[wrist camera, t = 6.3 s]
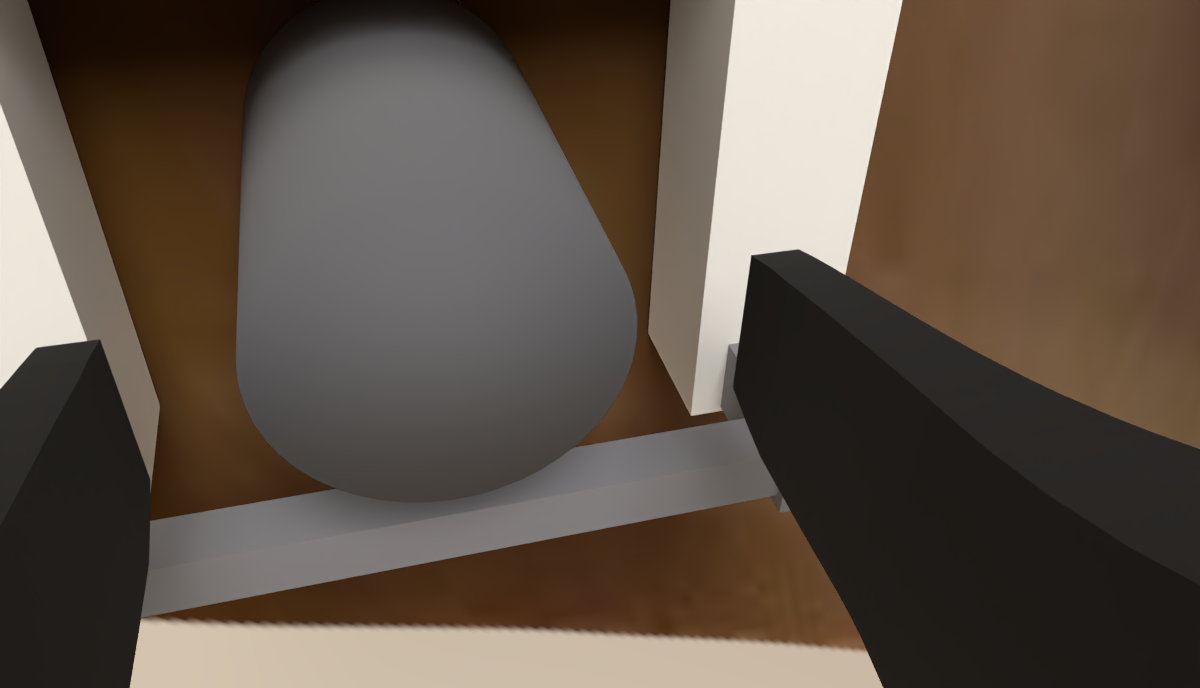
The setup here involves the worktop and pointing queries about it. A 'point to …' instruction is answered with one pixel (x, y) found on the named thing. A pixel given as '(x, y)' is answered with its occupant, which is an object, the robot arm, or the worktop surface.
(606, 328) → the grey rounded cylinder
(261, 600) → the worktop surface
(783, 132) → the white frame with crossbar
